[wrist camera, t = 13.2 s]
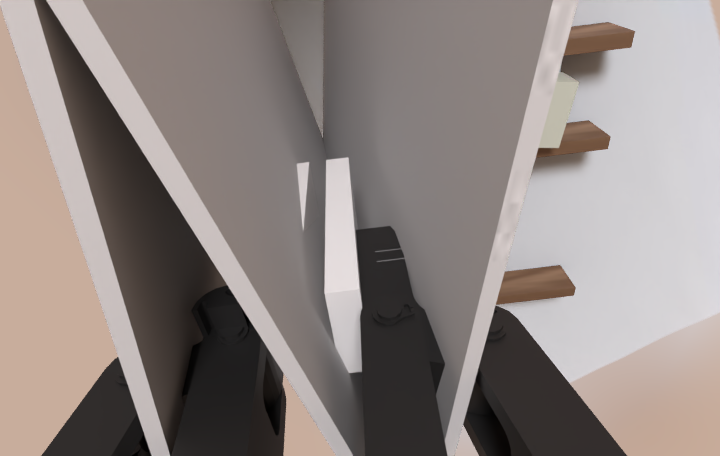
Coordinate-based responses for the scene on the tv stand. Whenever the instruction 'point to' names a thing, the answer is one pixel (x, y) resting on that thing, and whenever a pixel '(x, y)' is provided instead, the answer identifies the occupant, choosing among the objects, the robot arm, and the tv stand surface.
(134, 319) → the brochure
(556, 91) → the offcut upper
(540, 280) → the rack
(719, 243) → the tv stand surface
